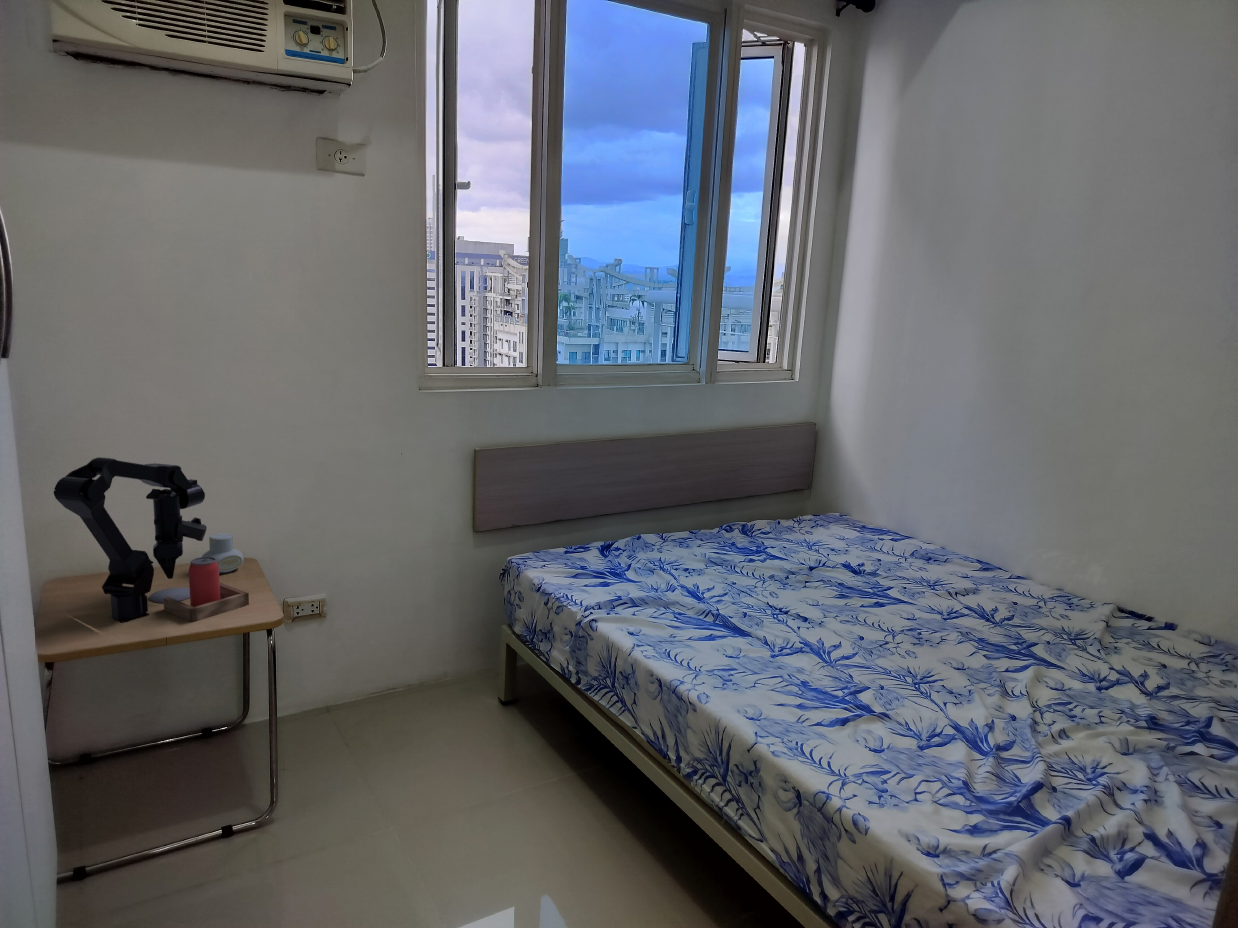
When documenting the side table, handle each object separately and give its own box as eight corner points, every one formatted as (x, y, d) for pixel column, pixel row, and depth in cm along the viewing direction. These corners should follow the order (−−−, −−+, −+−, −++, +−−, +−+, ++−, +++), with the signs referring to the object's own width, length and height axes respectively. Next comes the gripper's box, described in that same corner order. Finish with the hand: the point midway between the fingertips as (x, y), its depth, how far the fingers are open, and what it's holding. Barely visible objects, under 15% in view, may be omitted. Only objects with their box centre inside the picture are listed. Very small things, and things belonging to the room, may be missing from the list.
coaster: (163, 605, 194) (163, 604, 194) (141, 596, 199) (141, 595, 199) (202, 594, 202) (202, 593, 202) (181, 586, 207) (180, 584, 207)
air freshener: (210, 578, 214) (208, 542, 212) (195, 571, 219) (193, 536, 217) (249, 569, 223) (247, 535, 221) (234, 562, 228) (232, 529, 226)
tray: (192, 621, 185) (191, 609, 185) (164, 609, 191) (163, 597, 191) (249, 604, 197) (248, 593, 197) (220, 593, 204) (219, 582, 203)
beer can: (226, 602, 198) (224, 557, 195) (210, 612, 191) (207, 565, 189) (201, 600, 198) (199, 555, 196) (184, 610, 192) (182, 563, 189)
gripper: (204, 520, 192) (207, 581, 195) (203, 502, 208) (206, 559, 211) (151, 523, 187) (155, 586, 190) (154, 505, 203) (158, 563, 206)
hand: (170, 573), depth 199 cm, fingers open, 8 cm apart
